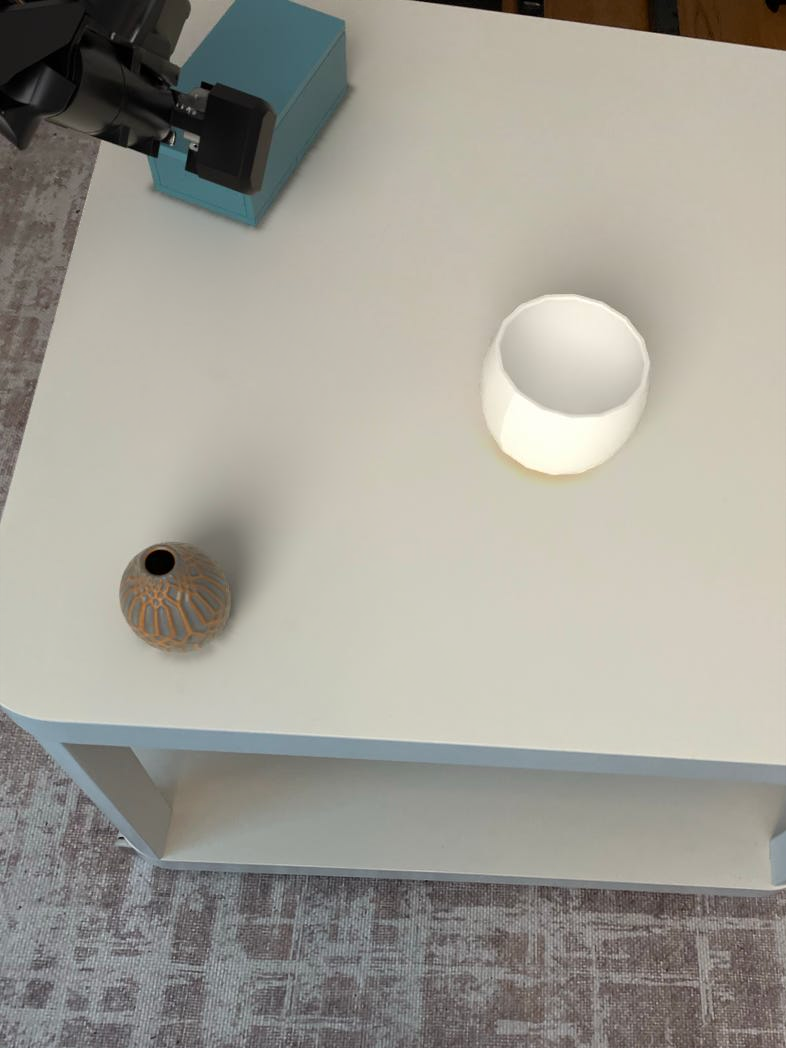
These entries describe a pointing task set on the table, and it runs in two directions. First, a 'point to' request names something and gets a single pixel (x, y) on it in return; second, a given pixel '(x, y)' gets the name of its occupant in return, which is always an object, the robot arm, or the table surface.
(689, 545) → the table surface
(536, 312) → the cup
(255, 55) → the lid
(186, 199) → the teal rectangular box
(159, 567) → the vase
